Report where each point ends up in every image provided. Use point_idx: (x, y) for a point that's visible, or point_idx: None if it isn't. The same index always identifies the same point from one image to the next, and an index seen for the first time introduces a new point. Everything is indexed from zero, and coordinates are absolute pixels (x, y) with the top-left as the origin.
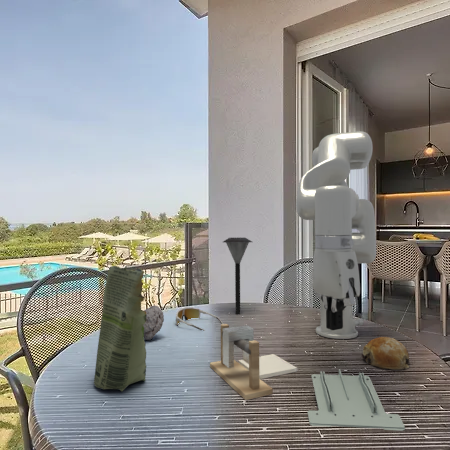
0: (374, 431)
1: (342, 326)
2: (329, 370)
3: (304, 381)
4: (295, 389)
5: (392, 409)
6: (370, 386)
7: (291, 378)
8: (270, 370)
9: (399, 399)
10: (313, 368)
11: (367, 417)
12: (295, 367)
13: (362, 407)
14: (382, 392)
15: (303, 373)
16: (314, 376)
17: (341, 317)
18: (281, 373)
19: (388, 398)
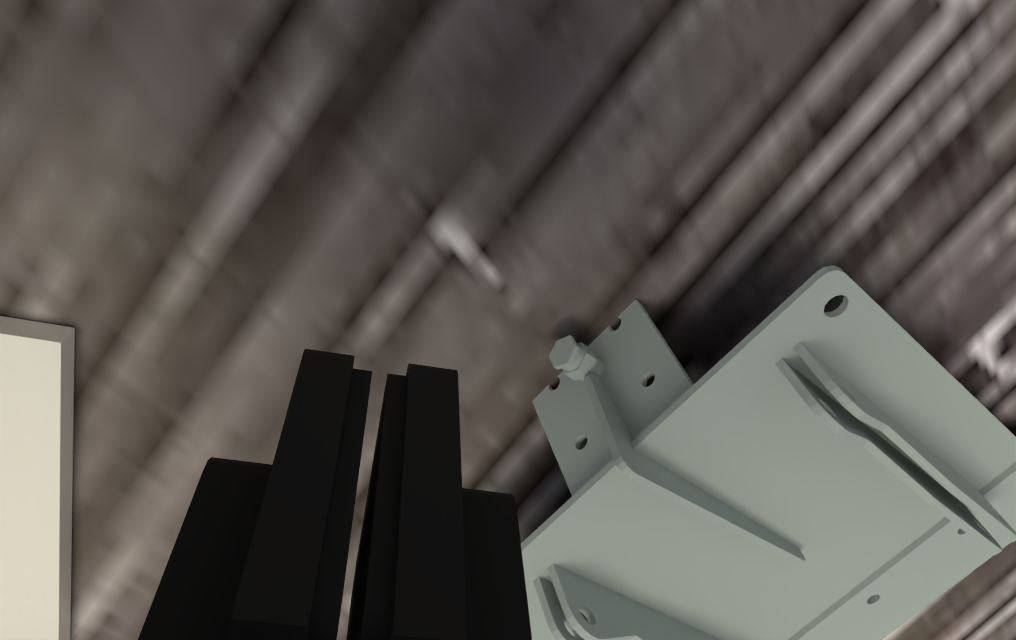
0: (995, 578)
1: (453, 383)
2: (213, 38)
3: (283, 424)
4: (354, 565)
5: (1001, 279)
6: (883, 350)
7: (178, 464)
8: (4, 559)
9: (998, 77)
10: (84, 137)
11: (941, 550)
12: (43, 347)
13: (891, 519)
14: (841, 70)
15: (141, 312)
16: None
17: (522, 623)
18: (66, 485)
19: (921, 137)
